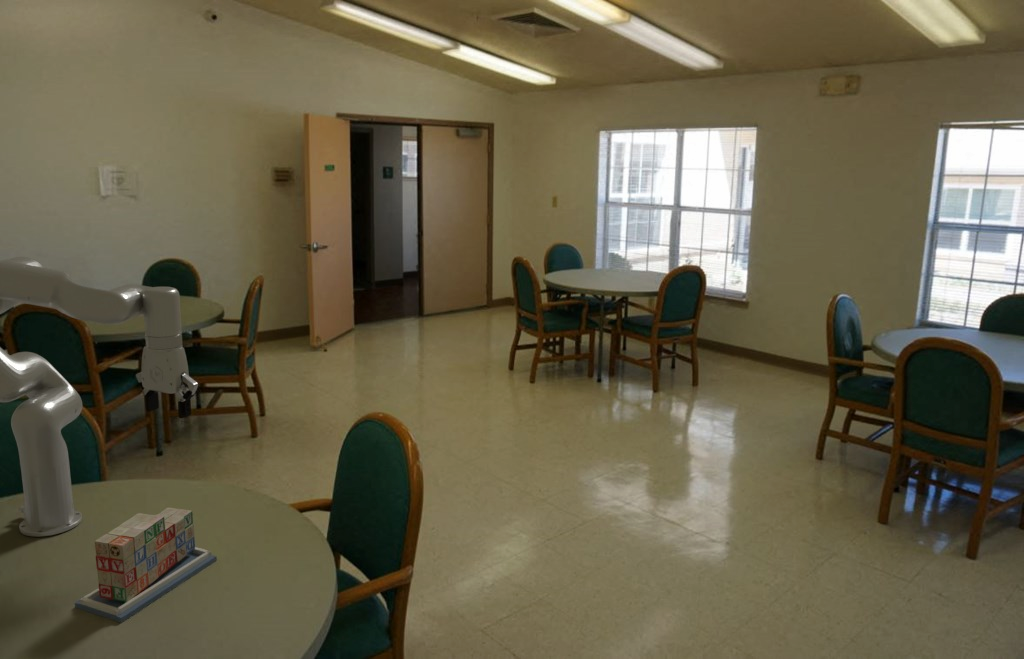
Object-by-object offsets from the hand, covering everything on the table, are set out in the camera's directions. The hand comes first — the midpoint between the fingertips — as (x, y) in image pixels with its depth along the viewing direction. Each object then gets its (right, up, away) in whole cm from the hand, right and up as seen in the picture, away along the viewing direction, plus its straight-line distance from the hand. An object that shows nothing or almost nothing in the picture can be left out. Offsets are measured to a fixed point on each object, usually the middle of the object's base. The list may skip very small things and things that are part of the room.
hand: (168, 413), depth 172 cm
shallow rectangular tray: (+4, -33, -18) cm, 38 cm away
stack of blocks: (+4, -31, -18) cm, 36 cm away
